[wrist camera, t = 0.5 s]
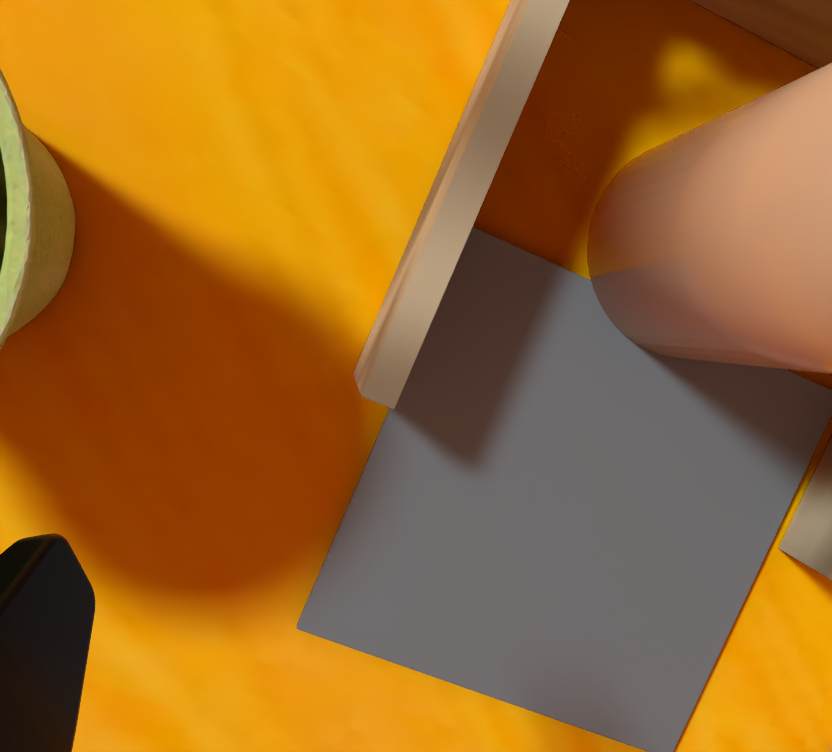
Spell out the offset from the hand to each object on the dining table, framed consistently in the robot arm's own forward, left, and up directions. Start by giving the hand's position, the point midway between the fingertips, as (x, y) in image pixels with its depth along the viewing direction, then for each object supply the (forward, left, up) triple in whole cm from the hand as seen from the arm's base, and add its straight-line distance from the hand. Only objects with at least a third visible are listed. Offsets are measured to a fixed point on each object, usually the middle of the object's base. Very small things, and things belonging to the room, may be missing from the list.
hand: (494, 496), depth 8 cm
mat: (-6, -3, -14) cm, 15 cm away
